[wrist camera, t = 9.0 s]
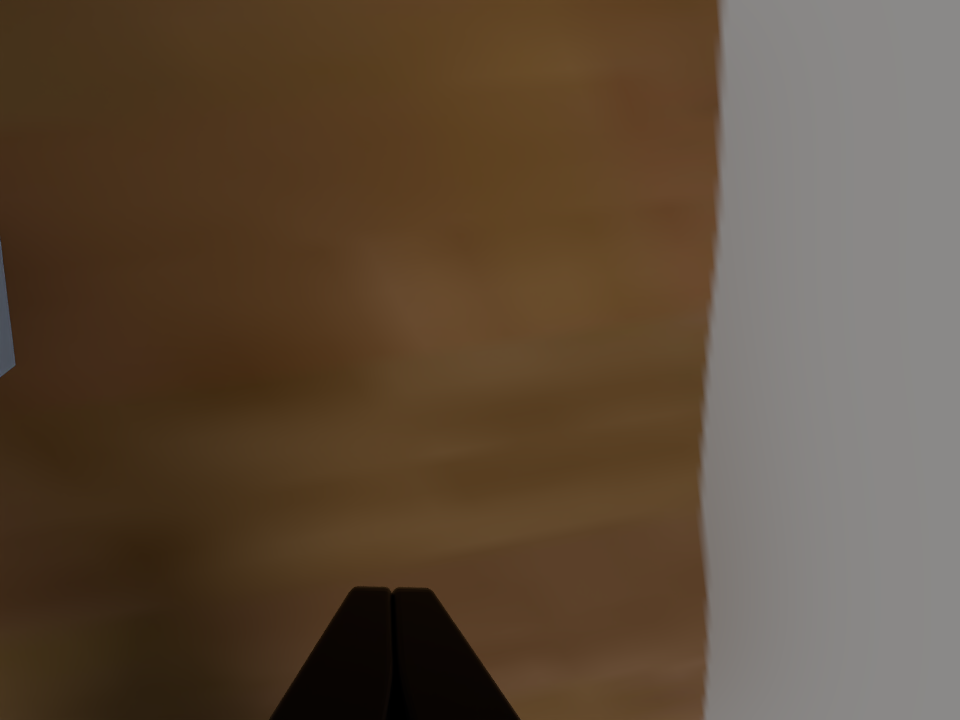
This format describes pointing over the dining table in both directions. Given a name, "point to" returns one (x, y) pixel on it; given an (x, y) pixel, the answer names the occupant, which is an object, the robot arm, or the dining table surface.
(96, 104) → the dining table surface
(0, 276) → the blue-gray block
